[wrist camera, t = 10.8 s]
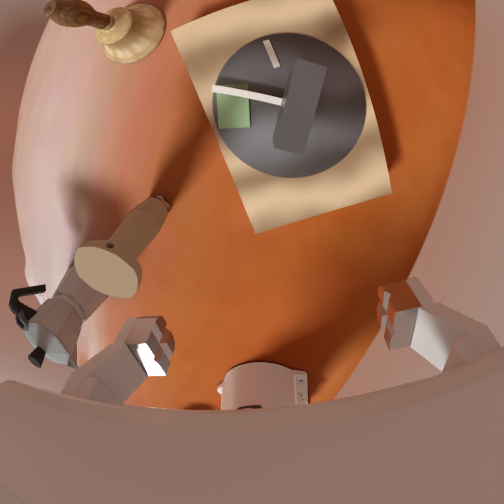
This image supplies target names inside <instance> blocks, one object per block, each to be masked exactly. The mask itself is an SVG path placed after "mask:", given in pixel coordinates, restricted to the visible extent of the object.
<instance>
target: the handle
mask: <svg viewBox="0 0 504 504" xmlns="http://www.w3.org/2000/svg"><path fill="white" fill-rule="evenodd" d="M169 207H170V205H169V203H167V202H166V201H165V200H164V199H163V196H161V195H157V196H156V197H149V198H147V199H146V200H145V201H143V202H142V203H140V204H139V205H138V206H136V207H135V208H134V209H133V210H132V211H131V212H130V213H129V214H128V215H127V217H126V218H125V219H124V220H123V222H122V223H121V224H120V226H119V227H118V228H117V229H116V231H115V232H114V233H113V234H112V236H111V237H110V238H109V239H108V240H90V241H85V242H84V243H83V244H82V245H81V246H80V247H79V248H78V249H77V251H76V252H75V256H74V264H75V269H76V272H77V274H78V276H79V277H80V278H81V279H82V280H83V281H85V282H86V283H87V284H88V285H89V286H90V287H92V288H93V289H95V290H97V291H99V292H101V293H103V294H106V295H108V296H111V297H116V298H131V297H132V296H133V295H134V294H135V293H136V291H137V289H138V287H139V285H140V283H141V279H142V269H141V266H140V264H139V262H138V261H137V258H138V257H139V256H140V254H141V253H142V252H143V251H144V249H145V248H146V247H147V246H148V245H149V244H150V242H151V241H152V240H153V239H154V238H155V236H156V235H157V234H158V232H159V231H160V229H161V227H162V225H163V224H164V221H165V219H166V217H167V215H168V212H167V211H168V209H169Z"/></svg>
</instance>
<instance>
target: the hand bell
mask: <svg viewBox="0 0 504 504" xmlns="http://www.w3.org/2000/svg"><path fill="white" fill-rule="evenodd" d="M44 14H45V15H47V16H48V17H50V18H51V19H52V20H53V21H54V22H55V23H57V24H59V25H62V26H66V27H81V26H85V25H88V26H92V27H95V34H96V37H97V39H98V40H99V41H100V42H101V43H102V45H103V49H104V52H105V53H106V55H107V56H108V57H109V58H110V59H111V60H112V61H114V62H117V63H121V64H129V63H134V62H137V61H139V60H141V59H143V58H145V57H147V56H148V55H149V54H150V53H152V52H153V51H154V50H155V49H156V47H157V46H158V45H159V43H160V41H161V40H162V37H163V35H164V31H165V20H164V16H163V14H162V13H161V11H160V10H159V9H158V8H156V7H155V6H153V5H150V4H144V3H140V4H134V5H130V6H128V7H125V8H122V7H118V8H113V9H111V10H109V11H107V12H106V13H105V14H103V13H100V12H97V11H95V10H94V9H93V7H92V6H91V5H90V4H88V3H87V2H85V1H82V0H52V1H50V2H49V3H47V5H46V6H45V8H44Z"/></svg>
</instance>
